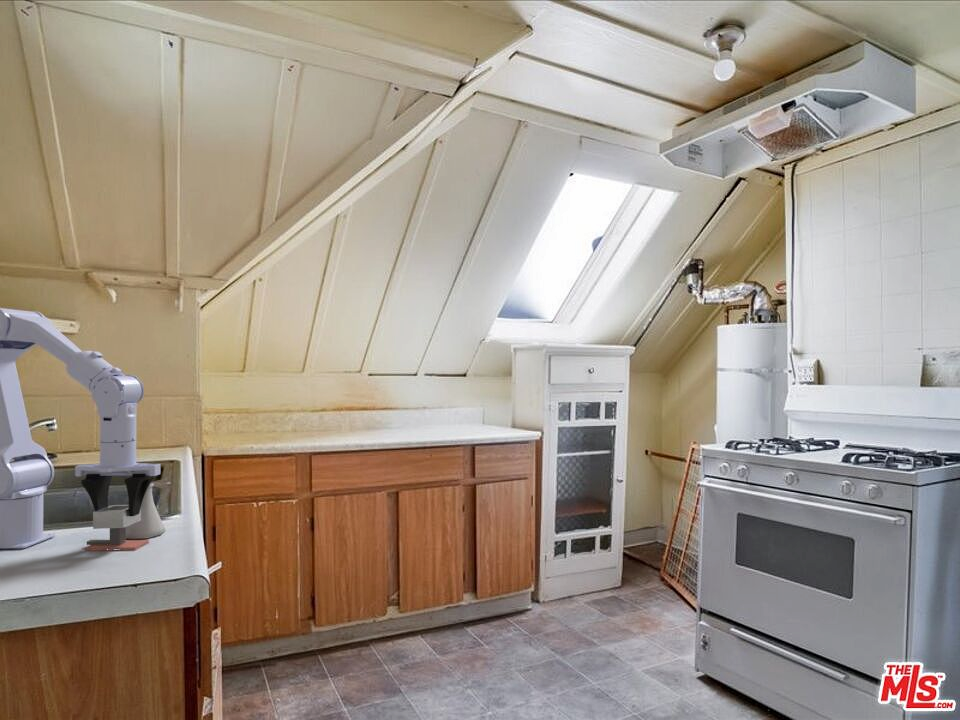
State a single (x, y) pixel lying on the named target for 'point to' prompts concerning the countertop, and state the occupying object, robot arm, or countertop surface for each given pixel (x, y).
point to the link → (114, 517)
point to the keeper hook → (116, 541)
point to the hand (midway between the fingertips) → (117, 515)
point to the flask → (146, 520)
